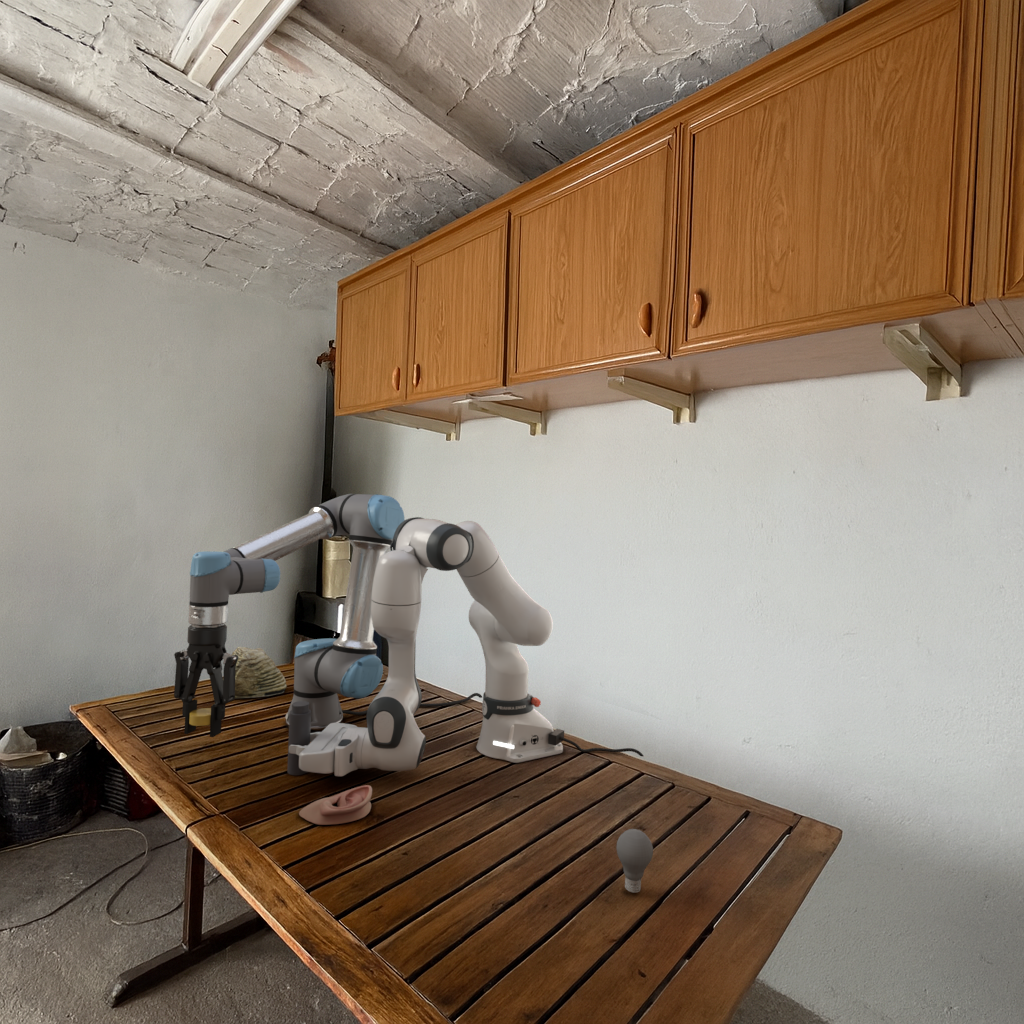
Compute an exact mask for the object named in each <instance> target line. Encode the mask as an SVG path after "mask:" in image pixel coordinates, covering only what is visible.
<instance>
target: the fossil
mask: <svg viewBox="0 0 1024 1024" xmlns="http://www.w3.org/2000/svg"><path fill="white" fill-rule="evenodd" d="M231 655H238V661H237V663H236V671H235V699H250V698H264V697H271V696H275V695H281V694H284V693H285V691H286V689H287V687H288V686H287V680H286V678H285V676H284V674H283V673H282V672H281V669H279V668H278V667H277V665H276V663H275V662H274V660H273V659H272V658H271V657H270V656H269V655H268V654H267V653H266V652H265V650H264V649H263V648H260V647H258V648H251V647H247V646H246V647H245V646H238V647H237V648H236V649H235V650H233V651H232V653H231Z"/></svg>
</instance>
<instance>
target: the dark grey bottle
mask: <svg viewBox="0 0 1024 1024" xmlns="http://www.w3.org/2000/svg"><path fill="white" fill-rule="evenodd" d="M310 730H311V710H310V709H309V702H306V701H298V702H294V703H293V704H292V710H291V711H290V715H289V728H288V741H287V742H288V745H287V767H286V768H287V769H286V770H287V771H286V772H287V774H288V775H290V776H302V775H305V774H307V773H308V772H306V771H303V770H301V769H300V768H299V755H297V754H291V753H289V746H290V745H291V744H292V743H295V744H296V743H298V744H299V745H300V746H305V745H306V746H308V745H309V744H310V743H311V742H310V733H311V732H310Z"/></svg>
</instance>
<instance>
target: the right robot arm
mask: <svg viewBox="0 0 1024 1024" xmlns="http://www.w3.org/2000/svg"><path fill="white" fill-rule="evenodd" d="M429 568H430V569H436V570H438V571H440V572H441V571H443V572H449V571H455V570H456V571H457V573H458V575H459V576H460V579H461V581H462V582H463V584H464V586H465V588H466V589H467V591H468V593H469V595H470V596H471V597H472V599H473V600H474V601H472V603H471V604H470V607H469V609H468V622H469V624H470V627H471V628H472V629H473V630H474V632H475V633H476V635H477V637H478V640H479V642H480V646H481V650H482V653H483V658H484V663H485V680H484V681H485V683H484V687H485V688H484V692H483V694H482V702H481V703H482V704H481V712H482V722H481V727H480V728H481V729H480V733H479V737H478V739H477V743H476V746H475V749H476V751H478V752H479V753H480V754H482V755H483V756H486V757H489V758H493V759H498V760H503V761H508V762H510V763H515V764H518V763H523V762H528V761H532V760H537V759H541V758H546V757H550V756H555V755H559V754H563V752H564V745H563V742H565V743H567V744H570V745H572V746H574V747H575V748H576V749H577V750H578V751H579V752H580V753H591V752H604V753H625V752H632V753H635V754H636V755H638V756H640V757H644V754H643V753H642V752H641V751H640V750H638V749H636V748H633V747H632V748H631V747H623V748H604V747H593V748H582V747H581V746H580V745H578V743H576V742H575V741H573V740H570V739H569V738H566V737H565V729H560V728H556V729H554V727H553V724H552V723H551V721H549V720H548V719H547V718H546V717H545V716H544V715H543V714H542V713H541V712H539V711H538V710H537V709H536V708H539V707H540V706H541V704H542V702H541V699H539V698H538V697H535V696H533V695H532V694H530V693H528V692H529V674H530V673H529V671H530V670H529V668H530V667H529V664H528V662H527V660H526V659H525V658H524V657H523V655H522V654H521V652H520V649H519V647H518V646H522V647H539V646H542V645H544V644H545V643H546V642H547V641H548V640H549V639H550V637H551V635H552V632H553V628H554V622H553V621H554V620H553V617H552V614H551V612H550V611H549V610H548V609H547V608H546V607H544V606H542V605H541V604H539V602H537V601H535V599H533V597H531V596H530V595H529V594H528V593H527V591H526V590H525V589H523V587H522V586H521V585H520V584H519V582H517V581H516V579H515V578H514V577H513V576H512V574H511V573H510V571H509V569H508V567H507V566H506V563H505V562H504V559H503V558H502V556H501V555H500V552H499V551H498V548H497V547H496V545H495V543H494V541H493V540H492V539H491V538H490V536H489V535H488V533H487V531H485V529H484V528H483V527H482V526H481V525H480V524H479V523H478V522H475V521H473V520H465V521H461V522H458V523H456V524H454V523H450V522H446V521H443V520H440V519H436V518H424V517H419V516H415V517H410V518H407V519H405V520H404V521H403V522H402V523H400V525H399V526H398V527H397V529H396V531H395V533H394V537H393V541H392V543H391V545H390V548H389V551H386V552H385V554H383V555H382V556H381V557H380V558H379V560H378V563H377V566H376V570H375V575H374V580H373V587H372V598H371V617H372V624H373V628H374V632H376V633H377V634H378V635H379V636H380V637H381V638H384V639H386V641H387V645H388V673H387V674H388V675H387V678H386V680H385V682H384V684H383V685H382V687H381V689H380V691H378V692H377V694H376V696H375V697H373V699H372V701H371V702H370V703H369V705H368V707H367V714H365V716H366V717H365V718H366V719H365V720H366V726H367V727H363V726H361V727H360V726H357V725H355V724H351V723H344V722H342V723H330V724H329V725H328V726H327V727H326V728H325V729H324V730H323V731H318V732H310V744H309V745H308V746H306V745H305V746H300V745H299V744H298V743H296V744H295V743H292V744H291V745H290V746H289V753H291V754H297V755H299V768H300V769H301V770H303V771H306V772H307V773H315V774H325V775H326V774H332V773H333V774H334V776H335V777H344V776H346V775H347V774H349V773H351V772H354V771H357V770H358V769H359V770H368V769H378V770H380V771H385V772H386V771H387V772H408V771H413V770H415V769H417V768H418V767H419V766H420V764H421V762H422V760H423V757H424V754H425V750H426V747H427V736H426V735H425V734H424V733H423V731H421V729H420V728H419V726H418V723H417V721H416V719H415V716H414V715H415V714H416V712H417V711H419V708H420V704H421V703H422V700H423V695H422V690H421V686H420V684H419V681H418V679H417V675H416V647H417V646H416V642H417V641H416V638H417V633H418V629H419V623H420V618H421V611H422V599H423V598H422V597H423V596H422V595H423V581H424V577H425V575H426V573H427V572H428V570H429ZM534 707H535V708H534Z"/></svg>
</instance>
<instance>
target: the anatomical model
mask: <svg viewBox="0 0 1024 1024" xmlns="http://www.w3.org/2000/svg"><path fill="white" fill-rule="evenodd" d="M372 795H373V787H372V786H371V785H369V784H367V785H366V784H365V785H361V786H356V787H354V788H351V789H350V788H349V789H347V790H345V791H341V792H340V793H337V794H334V795H332V796H329V797H328V796H327V797H323V798H320V799H317V800H315V801H313V802H311V803H309V804H307V805H306V806H304V807H303V808H301V809H300V810H299V812H298V815H299V817H300V818H302V819H304V820H306V821H307V822H310V823H311V824H315V825H319V826H328V825H339V824H346V823H351V822H354V821H357V820H361V819H363V818H365V817H366V816H367V815H368V814H369V813H370V812H371V809H372V803H371V798H372V797H373V796H372Z"/></svg>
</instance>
